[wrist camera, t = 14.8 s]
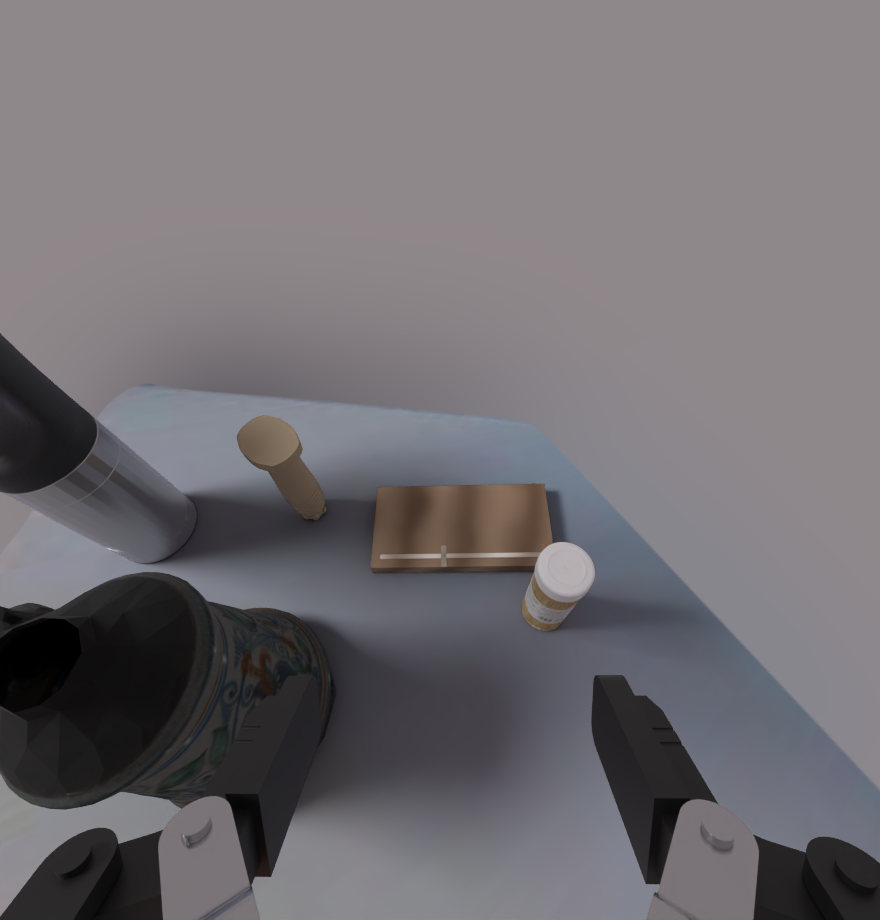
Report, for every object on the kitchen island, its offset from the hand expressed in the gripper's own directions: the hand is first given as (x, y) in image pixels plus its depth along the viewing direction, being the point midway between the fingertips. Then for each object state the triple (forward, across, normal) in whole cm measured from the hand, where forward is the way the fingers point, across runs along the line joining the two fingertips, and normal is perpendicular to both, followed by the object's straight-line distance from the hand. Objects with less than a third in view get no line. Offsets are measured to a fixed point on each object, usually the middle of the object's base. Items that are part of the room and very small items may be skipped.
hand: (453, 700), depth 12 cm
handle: (+40, +17, +8) cm, 44 cm away
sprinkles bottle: (+31, -9, +16) cm, 36 cm away
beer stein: (+25, +21, +23) cm, 40 cm away
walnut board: (+37, -1, +10) cm, 39 cm away
